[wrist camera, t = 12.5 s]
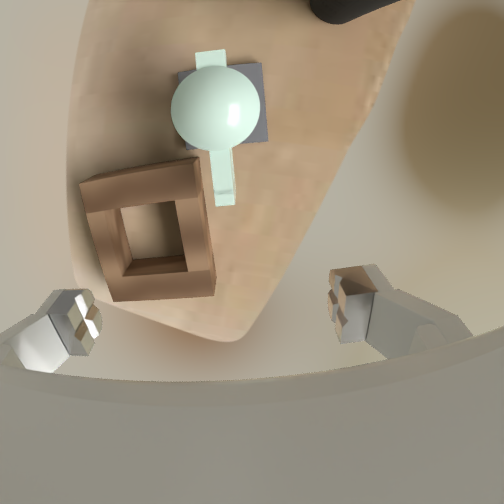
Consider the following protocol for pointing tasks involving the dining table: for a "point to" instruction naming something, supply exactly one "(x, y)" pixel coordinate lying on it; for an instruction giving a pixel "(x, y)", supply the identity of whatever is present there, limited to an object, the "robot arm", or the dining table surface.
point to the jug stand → (115, 240)
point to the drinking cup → (345, 9)
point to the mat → (256, 78)
